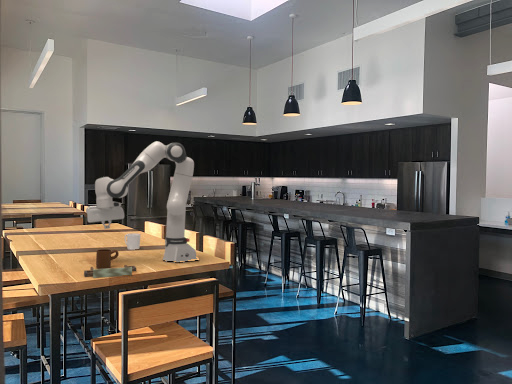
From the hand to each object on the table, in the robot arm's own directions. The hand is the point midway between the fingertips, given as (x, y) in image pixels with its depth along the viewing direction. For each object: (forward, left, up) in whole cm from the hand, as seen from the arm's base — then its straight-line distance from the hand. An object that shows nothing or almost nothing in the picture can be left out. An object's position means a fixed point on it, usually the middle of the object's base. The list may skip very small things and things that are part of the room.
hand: (107, 228), depth 238 cm
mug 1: (+1, +14, -20) cm, 24 cm away
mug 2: (-21, -39, -20) cm, 48 cm away
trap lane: (+1, +28, -19) cm, 34 cm away
